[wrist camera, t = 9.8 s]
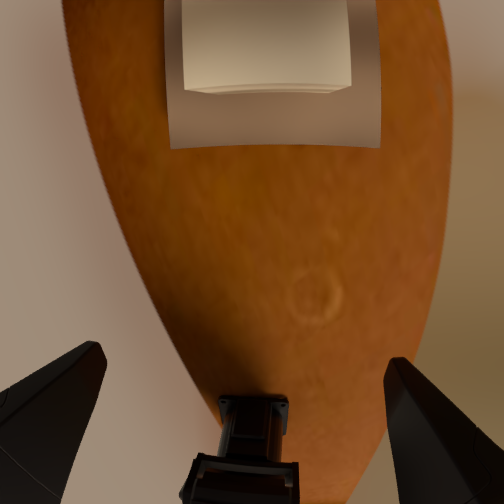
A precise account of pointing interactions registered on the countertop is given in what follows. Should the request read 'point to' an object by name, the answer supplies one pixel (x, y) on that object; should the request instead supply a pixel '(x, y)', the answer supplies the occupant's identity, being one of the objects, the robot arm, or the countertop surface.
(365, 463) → the countertop surface
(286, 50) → the block
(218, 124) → the base
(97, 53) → the countertop surface
